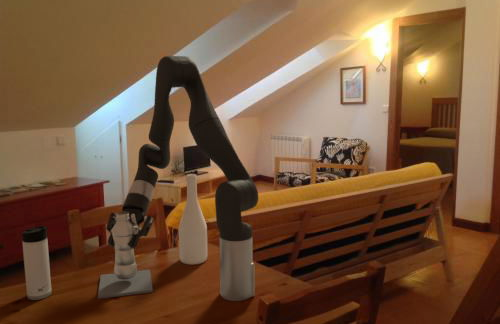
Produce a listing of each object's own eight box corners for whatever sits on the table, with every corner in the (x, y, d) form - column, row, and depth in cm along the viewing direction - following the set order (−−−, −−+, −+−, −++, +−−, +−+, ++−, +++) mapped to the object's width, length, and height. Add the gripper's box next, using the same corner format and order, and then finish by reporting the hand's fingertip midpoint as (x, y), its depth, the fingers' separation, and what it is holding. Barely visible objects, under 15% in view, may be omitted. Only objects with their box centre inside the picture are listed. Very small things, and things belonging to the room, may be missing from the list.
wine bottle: (190, 267, 141) (187, 178, 136) (174, 259, 148) (171, 174, 143) (212, 260, 147) (211, 174, 143) (196, 253, 154) (194, 171, 150)
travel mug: (46, 300, 119) (40, 231, 116) (22, 300, 119) (16, 231, 116) (56, 290, 125) (51, 224, 122) (34, 290, 125) (28, 224, 122)
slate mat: (150, 271, 138) (149, 269, 138) (152, 292, 124) (152, 289, 124) (100, 277, 134) (100, 274, 134) (97, 298, 120) (97, 296, 120)
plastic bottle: (128, 283, 124) (125, 217, 121) (109, 280, 127) (106, 215, 124) (141, 275, 130) (138, 211, 127) (123, 271, 133) (120, 209, 130)
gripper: (113, 190, 134) (93, 239, 124) (155, 192, 130) (138, 243, 121) (123, 202, 140) (104, 250, 130) (164, 205, 136) (148, 254, 127)
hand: (121, 246), depth 125 cm, fingers closed on plastic bottle, 6 cm apart
